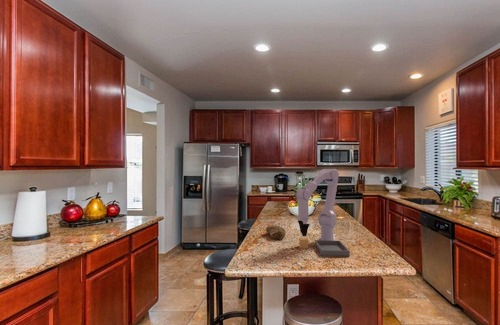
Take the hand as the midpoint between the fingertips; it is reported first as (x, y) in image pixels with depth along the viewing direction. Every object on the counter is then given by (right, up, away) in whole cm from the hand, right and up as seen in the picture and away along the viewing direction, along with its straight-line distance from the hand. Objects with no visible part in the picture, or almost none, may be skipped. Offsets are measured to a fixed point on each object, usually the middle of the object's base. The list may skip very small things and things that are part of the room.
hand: (303, 234), depth 165 cm
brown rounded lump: (-14, -8, +26) cm, 30 cm away
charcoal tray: (+14, -7, -8) cm, 17 cm away
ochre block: (0, -7, 0) cm, 7 cm away
